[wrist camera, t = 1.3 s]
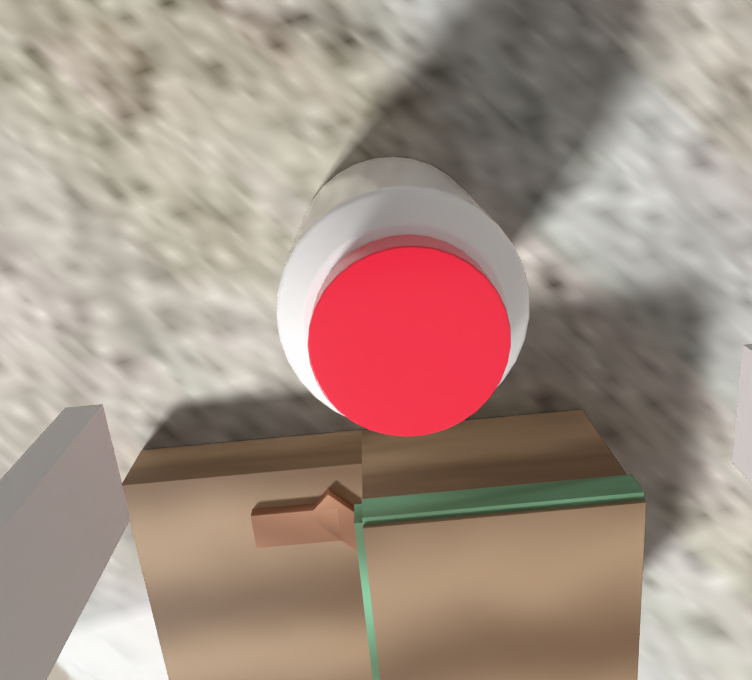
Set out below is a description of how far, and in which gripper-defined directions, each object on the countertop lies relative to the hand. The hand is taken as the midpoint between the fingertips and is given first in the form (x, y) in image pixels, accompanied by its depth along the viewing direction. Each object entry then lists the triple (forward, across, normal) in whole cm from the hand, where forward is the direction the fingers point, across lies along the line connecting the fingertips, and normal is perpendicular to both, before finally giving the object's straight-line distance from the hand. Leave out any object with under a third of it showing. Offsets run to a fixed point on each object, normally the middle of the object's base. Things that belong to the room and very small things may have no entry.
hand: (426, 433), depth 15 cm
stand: (+16, -2, -14) cm, 21 cm away
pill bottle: (+16, 0, 0) cm, 16 cm away
